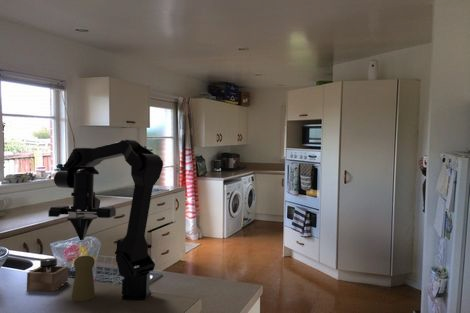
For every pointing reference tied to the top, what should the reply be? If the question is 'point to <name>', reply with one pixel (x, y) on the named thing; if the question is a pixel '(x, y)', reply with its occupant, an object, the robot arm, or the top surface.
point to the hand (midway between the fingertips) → (81, 240)
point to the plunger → (48, 263)
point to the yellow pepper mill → (83, 279)
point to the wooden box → (46, 278)
